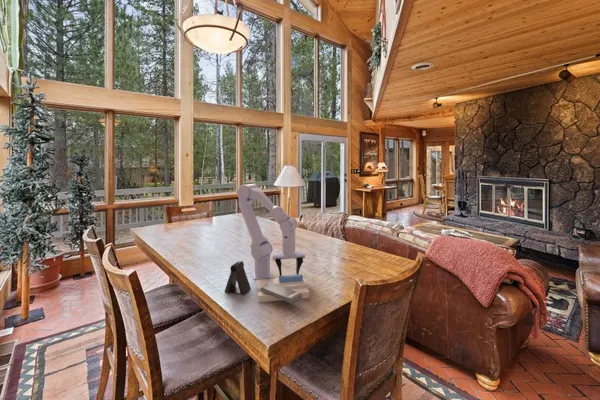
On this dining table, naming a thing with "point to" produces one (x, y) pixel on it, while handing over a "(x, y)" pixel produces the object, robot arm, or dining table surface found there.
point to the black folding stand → (237, 280)
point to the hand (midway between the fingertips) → (289, 274)
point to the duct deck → (295, 286)
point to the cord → (290, 278)
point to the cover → (281, 292)
